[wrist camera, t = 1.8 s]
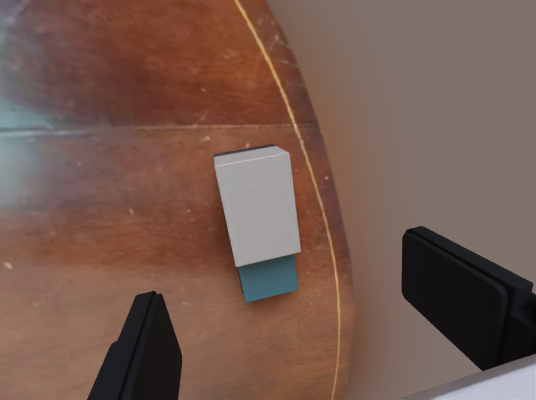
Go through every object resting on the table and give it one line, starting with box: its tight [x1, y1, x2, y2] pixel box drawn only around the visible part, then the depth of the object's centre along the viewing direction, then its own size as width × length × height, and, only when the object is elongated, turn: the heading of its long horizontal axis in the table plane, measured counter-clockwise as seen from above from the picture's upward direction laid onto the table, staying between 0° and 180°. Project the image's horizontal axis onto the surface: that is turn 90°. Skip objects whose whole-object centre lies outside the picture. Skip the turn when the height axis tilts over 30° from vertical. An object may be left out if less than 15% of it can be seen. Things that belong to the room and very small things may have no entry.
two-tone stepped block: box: [214, 144, 301, 303], centre depth 20 cm, size 12×5×5 cm, turn 8°
